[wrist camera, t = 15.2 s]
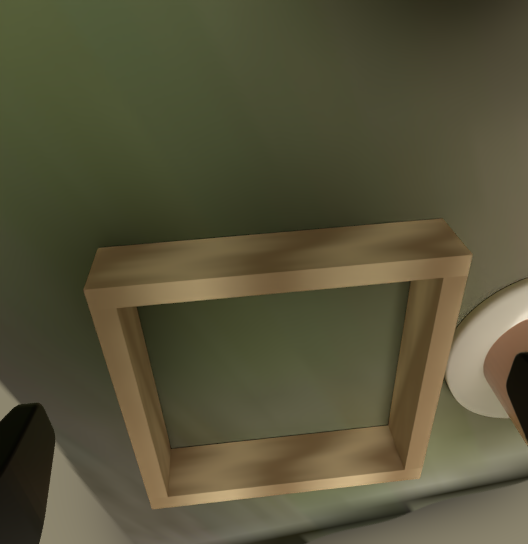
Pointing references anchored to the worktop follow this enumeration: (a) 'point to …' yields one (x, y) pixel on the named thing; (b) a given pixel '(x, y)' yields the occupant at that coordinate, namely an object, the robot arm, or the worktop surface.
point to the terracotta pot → (506, 365)
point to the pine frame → (269, 280)
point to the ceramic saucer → (483, 348)
